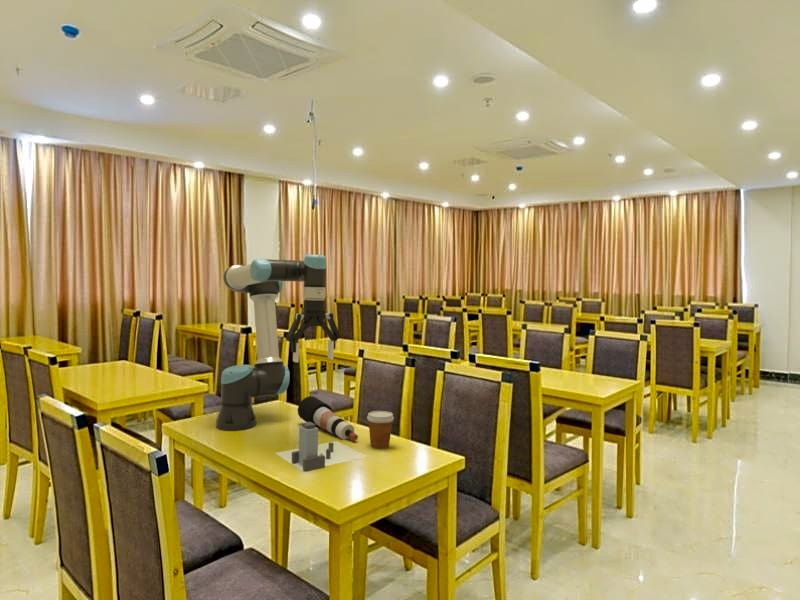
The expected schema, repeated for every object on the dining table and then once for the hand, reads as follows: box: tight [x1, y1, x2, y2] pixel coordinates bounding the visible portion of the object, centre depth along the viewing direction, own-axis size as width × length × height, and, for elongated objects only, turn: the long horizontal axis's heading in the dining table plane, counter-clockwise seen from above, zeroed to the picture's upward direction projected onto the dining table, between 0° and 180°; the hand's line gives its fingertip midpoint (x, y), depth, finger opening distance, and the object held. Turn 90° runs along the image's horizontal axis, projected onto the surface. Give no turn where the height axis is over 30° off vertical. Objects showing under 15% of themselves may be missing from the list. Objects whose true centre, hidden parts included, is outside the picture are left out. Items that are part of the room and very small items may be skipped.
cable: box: [297, 395, 359, 441], centre depth 208 cm, size 10×34×10 cm, turn 39°
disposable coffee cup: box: [366, 410, 395, 450], centre depth 192 cm, size 10×10×12 cm
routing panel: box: [274, 440, 368, 472], centre depth 181 cm, size 20×24×4 cm
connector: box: [298, 421, 319, 466], centre depth 171 cm, size 5×4×13 cm
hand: (313, 360), depth 189 cm, fingers open, 13 cm apart
